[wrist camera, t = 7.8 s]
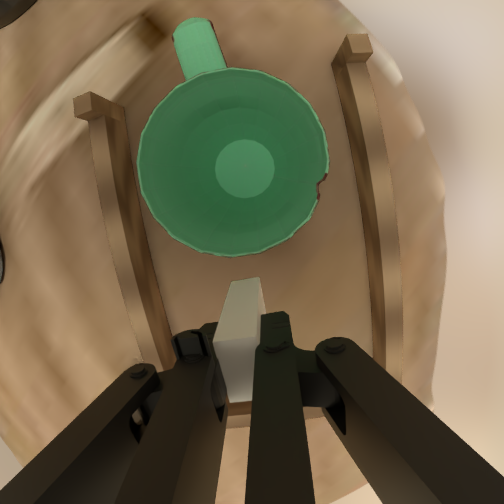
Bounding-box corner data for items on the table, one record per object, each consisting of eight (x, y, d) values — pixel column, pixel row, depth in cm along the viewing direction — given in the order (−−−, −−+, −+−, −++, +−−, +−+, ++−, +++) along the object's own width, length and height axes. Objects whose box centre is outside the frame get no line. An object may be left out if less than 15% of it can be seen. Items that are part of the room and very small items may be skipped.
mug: (322, 209, 25) (353, 225, 16) (206, 245, 27) (170, 280, 17) (266, 45, 23) (263, -20, 13) (155, 83, 24) (101, 40, 14)
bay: (70, 127, 25) (-5, 111, 15) (348, 62, 23) (387, 4, 13) (144, 406, 30) (108, 473, 20) (387, 375, 28) (425, 444, 18)
